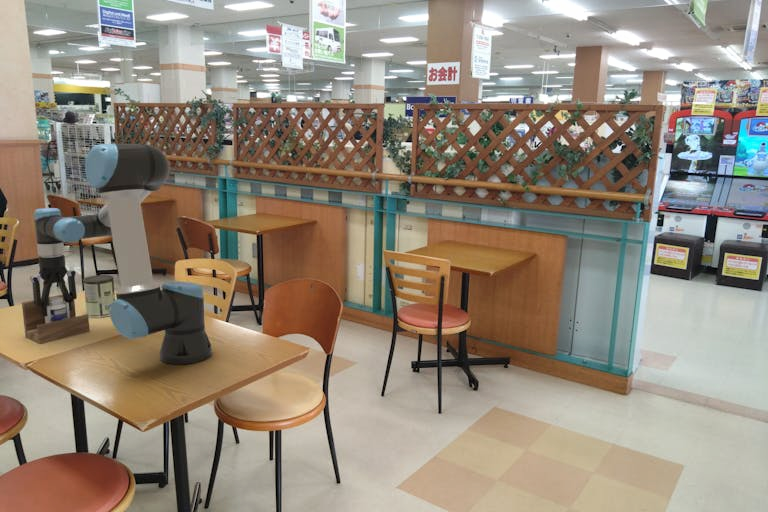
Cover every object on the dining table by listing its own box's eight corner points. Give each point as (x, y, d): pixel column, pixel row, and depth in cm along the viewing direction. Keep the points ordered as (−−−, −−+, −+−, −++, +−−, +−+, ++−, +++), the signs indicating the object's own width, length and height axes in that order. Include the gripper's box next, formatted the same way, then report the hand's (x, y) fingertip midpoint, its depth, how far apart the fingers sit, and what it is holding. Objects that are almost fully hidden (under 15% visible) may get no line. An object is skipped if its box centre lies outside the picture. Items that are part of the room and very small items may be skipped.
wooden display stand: (89, 331, 197) (86, 297, 194) (40, 343, 184) (36, 308, 182) (74, 325, 203) (71, 292, 201) (25, 337, 190) (21, 302, 188)
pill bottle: (47, 323, 192) (44, 298, 190) (64, 320, 196) (61, 295, 194) (52, 327, 188) (49, 301, 187) (69, 323, 192) (67, 298, 191)
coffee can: (96, 309, 222) (93, 274, 220) (121, 310, 221) (119, 275, 219) (80, 317, 212) (76, 280, 210) (106, 318, 211) (103, 281, 209)
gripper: (74, 250, 197) (80, 314, 202) (15, 257, 183) (23, 327, 187) (85, 252, 193) (90, 318, 197) (26, 261, 178) (33, 331, 183)
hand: (58, 322), depth 192 cm, fingers closed on pill bottle, 5 cm apart
